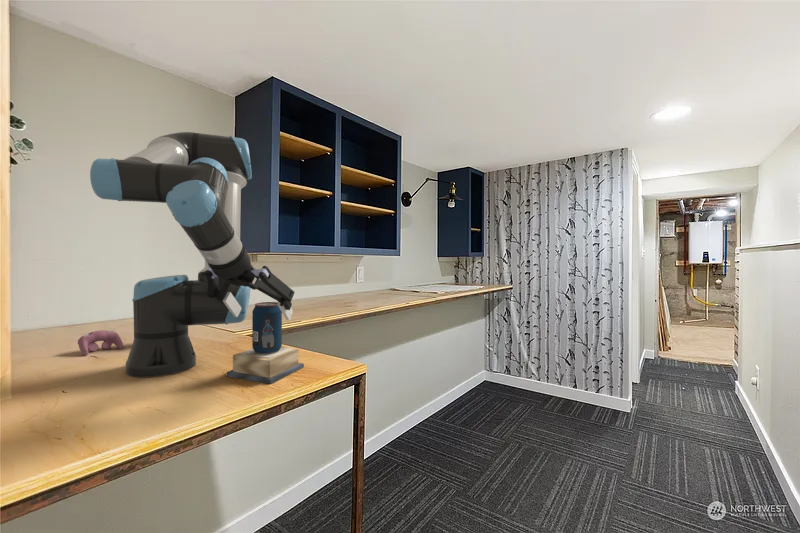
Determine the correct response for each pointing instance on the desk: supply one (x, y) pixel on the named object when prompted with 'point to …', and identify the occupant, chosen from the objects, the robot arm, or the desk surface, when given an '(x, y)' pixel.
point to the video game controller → (107, 336)
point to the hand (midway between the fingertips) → (263, 314)
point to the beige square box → (265, 365)
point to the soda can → (266, 328)
